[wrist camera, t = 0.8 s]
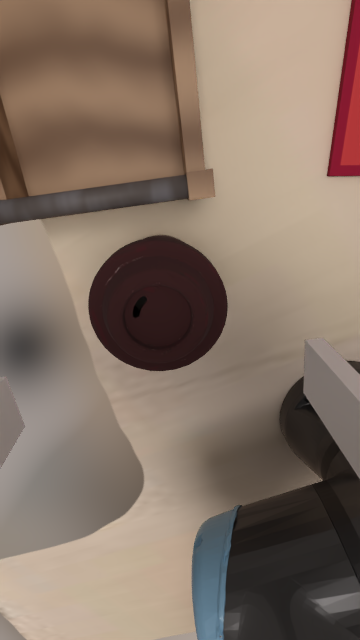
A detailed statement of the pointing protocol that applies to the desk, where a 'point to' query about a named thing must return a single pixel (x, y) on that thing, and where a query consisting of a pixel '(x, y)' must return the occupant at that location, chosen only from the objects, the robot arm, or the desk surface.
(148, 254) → the coffee cup
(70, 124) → the wooden crate
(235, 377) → the desk surface
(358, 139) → the red board with handle
